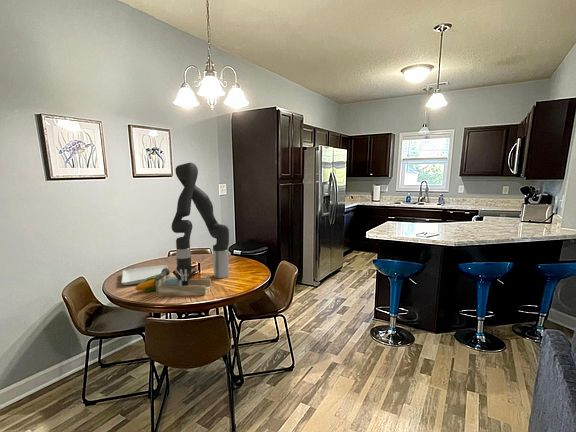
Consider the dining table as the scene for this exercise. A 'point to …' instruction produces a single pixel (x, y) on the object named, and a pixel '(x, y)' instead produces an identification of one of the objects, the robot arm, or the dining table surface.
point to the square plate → (141, 274)
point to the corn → (148, 284)
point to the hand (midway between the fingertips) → (185, 287)
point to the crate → (173, 282)
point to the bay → (192, 289)
